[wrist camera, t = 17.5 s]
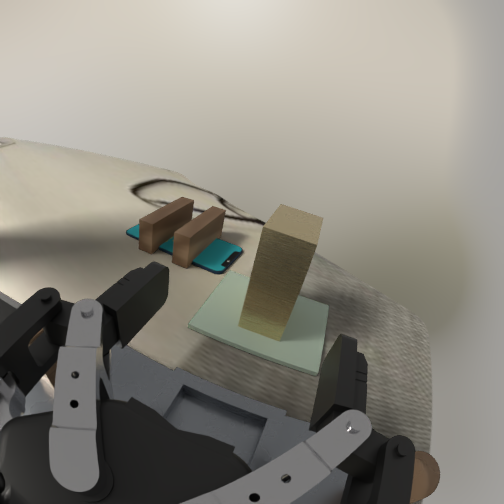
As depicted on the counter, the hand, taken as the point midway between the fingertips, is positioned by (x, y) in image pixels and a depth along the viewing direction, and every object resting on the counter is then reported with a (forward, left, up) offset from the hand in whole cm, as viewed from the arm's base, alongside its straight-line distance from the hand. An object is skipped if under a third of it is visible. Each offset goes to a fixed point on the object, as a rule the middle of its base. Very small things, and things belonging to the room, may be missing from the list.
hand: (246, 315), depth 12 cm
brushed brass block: (0, +12, -10) cm, 16 cm away
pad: (0, +12, -10) cm, 16 cm away
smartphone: (-14, +20, -11) cm, 27 cm away
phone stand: (-14, +20, -10) cm, 26 cm away
